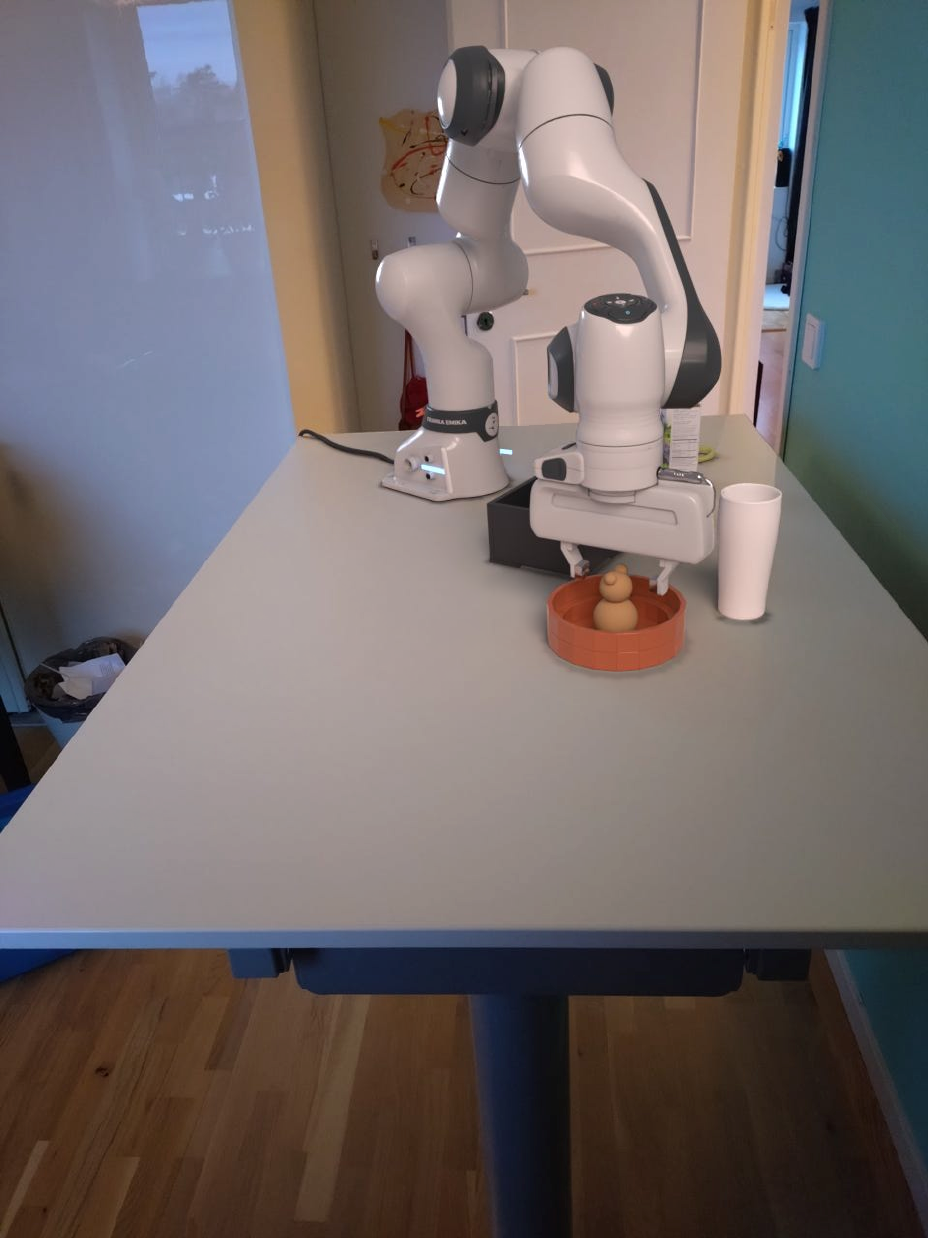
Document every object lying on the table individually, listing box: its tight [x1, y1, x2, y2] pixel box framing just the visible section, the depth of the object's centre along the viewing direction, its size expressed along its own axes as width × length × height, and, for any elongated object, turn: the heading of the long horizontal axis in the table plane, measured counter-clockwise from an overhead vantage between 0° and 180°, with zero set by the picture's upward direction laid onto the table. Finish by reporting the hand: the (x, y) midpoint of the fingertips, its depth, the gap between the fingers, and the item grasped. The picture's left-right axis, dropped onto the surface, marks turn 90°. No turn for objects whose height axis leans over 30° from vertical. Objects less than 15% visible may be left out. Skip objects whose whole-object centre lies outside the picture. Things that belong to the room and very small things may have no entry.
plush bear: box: [593, 563, 638, 632], centre depth 100 cm, size 5×5×8 cm
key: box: [698, 445, 716, 464], centre depth 161 cm, size 7×12×2 cm, turn 54°
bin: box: [486, 475, 621, 577], centre depth 124 cm, size 15×15×9 cm
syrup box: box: [660, 400, 703, 472], centre depth 145 cm, size 6×6×14 cm
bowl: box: [546, 573, 687, 672], centre depth 101 cm, size 15×15×5 cm
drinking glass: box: [716, 482, 783, 621], centre depth 103 cm, size 7×7×15 cm
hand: (618, 584), depth 99 cm, fingers open, 8 cm apart
